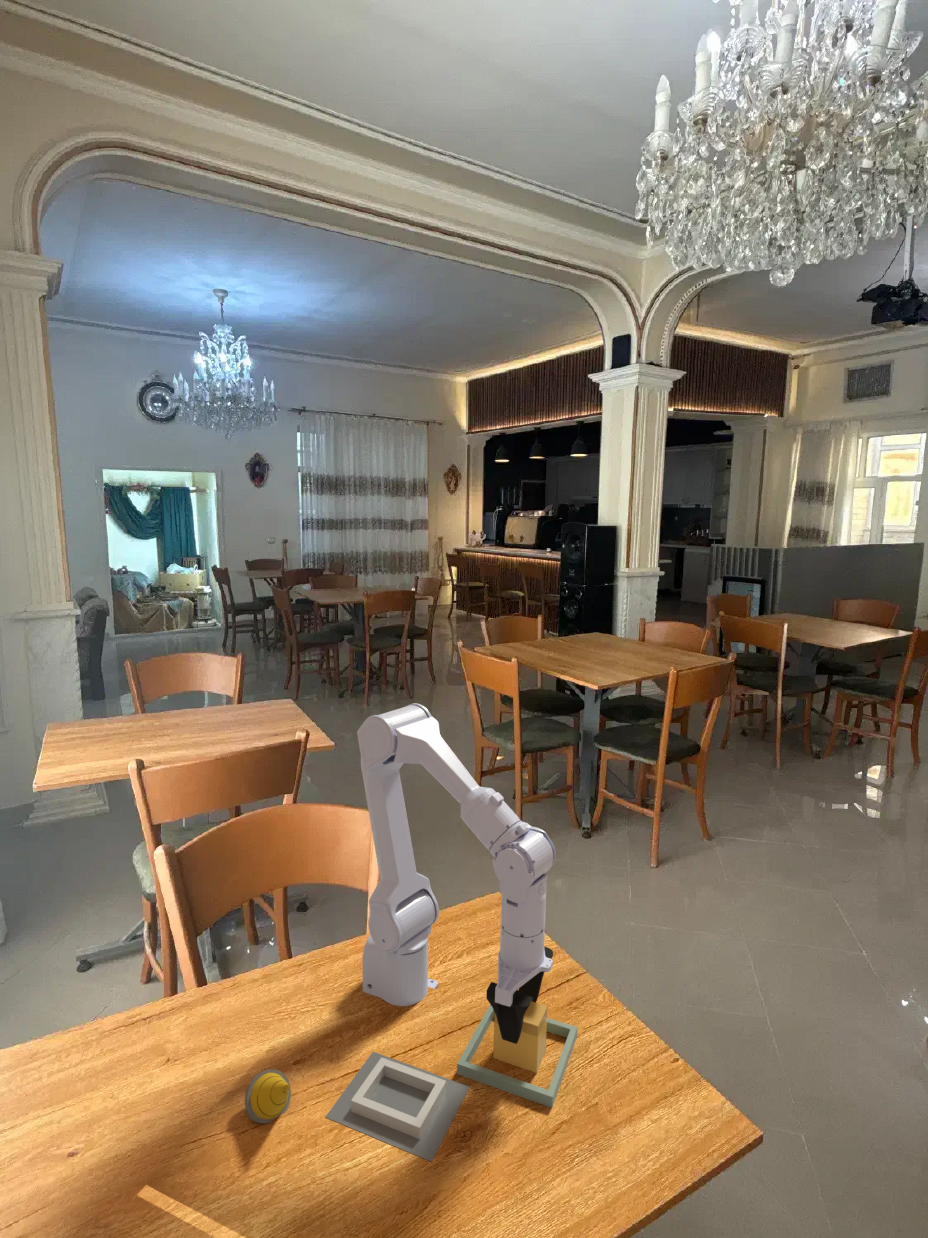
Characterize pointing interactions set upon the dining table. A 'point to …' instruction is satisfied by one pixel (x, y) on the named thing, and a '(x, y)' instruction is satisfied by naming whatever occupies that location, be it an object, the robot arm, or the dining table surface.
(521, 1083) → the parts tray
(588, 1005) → the dining table surface
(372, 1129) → the board
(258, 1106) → the yellow cone
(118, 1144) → the dining table surface
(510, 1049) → the yellow rectangular block
